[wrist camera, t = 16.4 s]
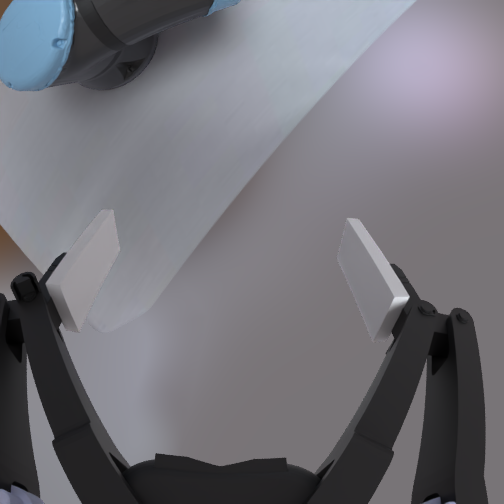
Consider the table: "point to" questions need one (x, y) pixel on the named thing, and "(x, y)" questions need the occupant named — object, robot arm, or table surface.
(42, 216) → the table surface
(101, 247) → the robot arm
